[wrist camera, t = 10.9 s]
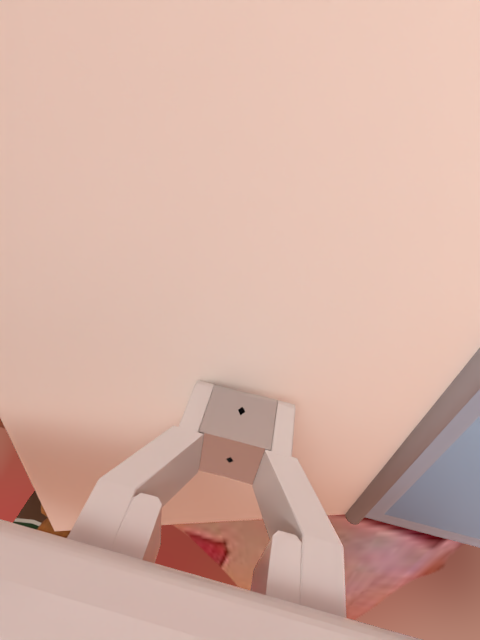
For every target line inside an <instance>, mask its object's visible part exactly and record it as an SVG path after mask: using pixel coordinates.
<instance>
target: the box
mask: <svg viewBox="0 0 480 640" xmlns="http://www.w3.org/2000/svg"><path fill="white" fill-rule="evenodd" d="M365 517H366V518H369V519H373V520H377V521H381V522H385V523H388V524H392V525H396V526H400V527H404V528H407V529H411V530H415V531H419V532H422V533H426V534H430V535H434V536H438V537H441V538H445V539H449V540H453V541H457V542H460V543H464V544H469V545H472V546H475V547H479V548H480V389H479V390H478V392H477V393H476V394H475V395H474V396H473V397H472V398H471V399H470V400H469V402H468V403H467V404H466V405H465V406H464V407H463V408H462V409H461V410H460V412H459V413H458V414H457V415H456V416H455V417H454V418H453V419H452V420H451V422H450V423H449V424H448V425H447V426H446V427H445V428H444V429H443V430H442V431H441V433H440V434H439V435H438V436H437V437H436V438H435V439H434V440H433V441H432V443H431V444H430V445H429V446H428V447H427V448H426V449H425V450H424V451H423V453H422V454H421V455H420V456H419V457H418V458H417V459H416V460H415V461H414V463H413V464H412V465H411V466H410V467H409V468H408V469H407V470H406V471H405V473H404V474H403V475H402V476H401V477H400V478H399V479H398V480H397V481H396V483H395V484H394V485H393V486H392V487H391V488H390V489H389V490H388V491H387V493H386V494H385V495H384V496H383V497H382V498H381V499H380V500H379V501H378V503H377V504H376V505H375V506H374V507H373V508H372V509H371V510H370V511H369V513H368V514H367V515H366V516H365Z"/></svg>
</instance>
